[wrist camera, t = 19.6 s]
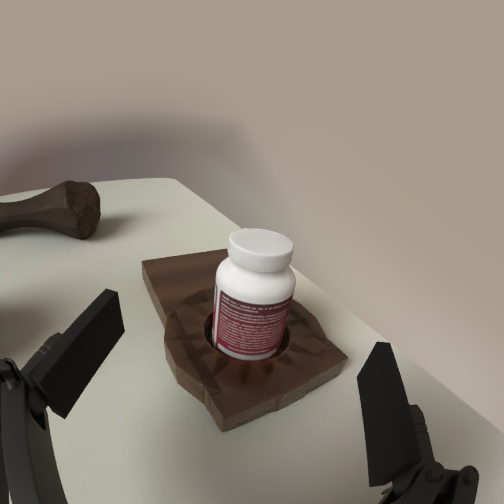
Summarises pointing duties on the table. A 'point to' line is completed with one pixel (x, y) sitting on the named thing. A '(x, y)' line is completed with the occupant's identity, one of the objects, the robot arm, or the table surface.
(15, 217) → the dark brown bone
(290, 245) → the pill bottle
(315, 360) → the plate
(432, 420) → the table surface
